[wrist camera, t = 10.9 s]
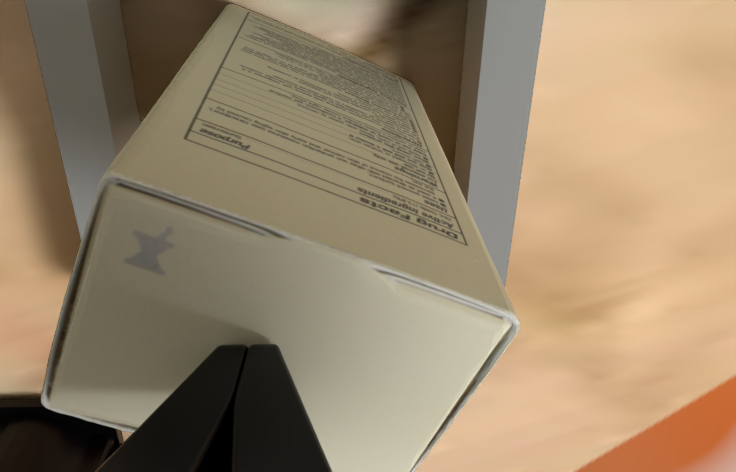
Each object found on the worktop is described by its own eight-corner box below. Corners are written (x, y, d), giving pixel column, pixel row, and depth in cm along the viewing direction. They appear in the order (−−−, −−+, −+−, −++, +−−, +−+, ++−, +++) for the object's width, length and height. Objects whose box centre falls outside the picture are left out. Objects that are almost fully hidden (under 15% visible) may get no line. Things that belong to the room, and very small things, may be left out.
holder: (124, 282, 23) (101, 325, 20) (37, -141, 16) (-10, -143, 14) (484, 279, 23) (500, 320, 21) (535, -132, 17) (564, -134, 15)
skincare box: (184, 128, 20) (6, 409, 9) (228, -5, 18) (70, 156, 7) (369, 201, 22) (399, 515, 11) (428, 85, 20) (533, 327, 9)
